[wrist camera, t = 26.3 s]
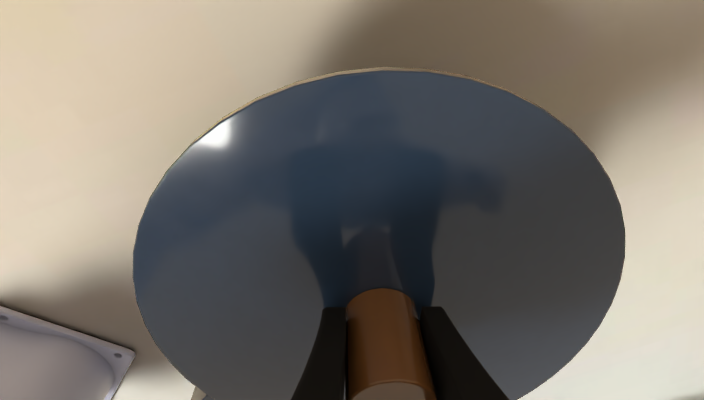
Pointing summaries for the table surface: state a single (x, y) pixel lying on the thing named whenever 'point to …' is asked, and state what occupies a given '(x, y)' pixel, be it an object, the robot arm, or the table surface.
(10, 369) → the robot arm
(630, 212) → the table surface
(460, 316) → the lid
